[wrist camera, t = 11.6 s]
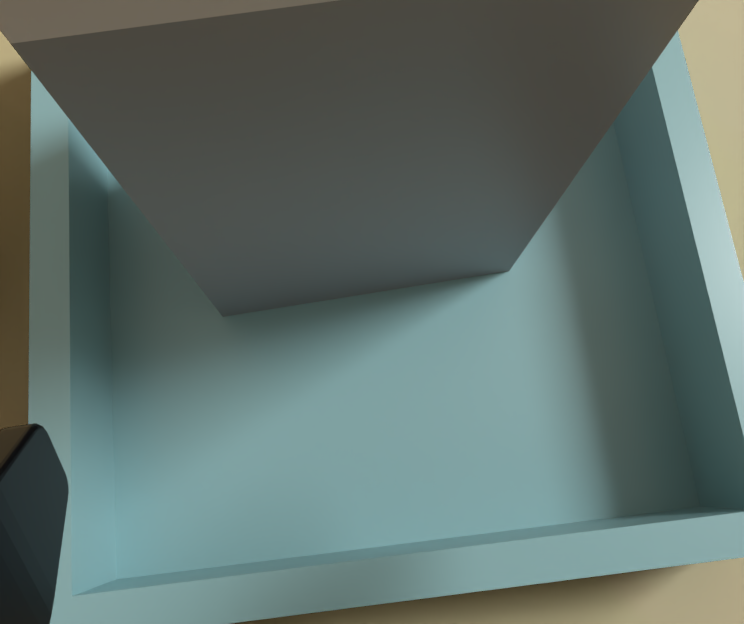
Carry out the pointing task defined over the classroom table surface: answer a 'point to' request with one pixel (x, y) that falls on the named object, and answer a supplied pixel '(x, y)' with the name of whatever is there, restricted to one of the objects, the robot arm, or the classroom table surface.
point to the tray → (393, 398)
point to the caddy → (341, 126)
